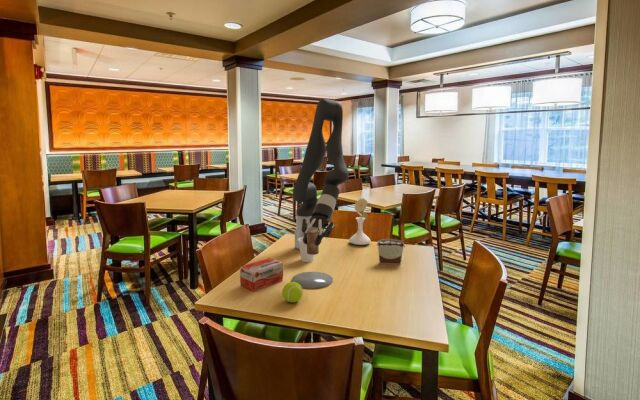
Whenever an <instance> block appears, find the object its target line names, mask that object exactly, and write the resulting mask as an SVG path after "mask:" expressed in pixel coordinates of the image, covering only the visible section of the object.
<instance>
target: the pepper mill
mask: <svg viewBox="0 0 640 400" xmlns="http://www.w3.org/2000/svg"><path fill="white" fill-rule="evenodd" d="M318 235H319V230H318V228H317V227H308V231H307V254H310V255H314V256H315V255H318V254H319V249H320V248H319V246H320V245H318V246H316V245H315V241H316V239H317V236H318Z"/></svg>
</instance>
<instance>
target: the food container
mask: <svg viewBox="0 0 640 400" xmlns="http://www.w3.org/2000/svg"><path fill="white" fill-rule="evenodd" d="M376 246H377V248H378V249H377V250H378V260H379V261H378V262H379V264H381V265H382V264H383V265H387V264H388V265H401V264H402V257H403V252H404V251H403V250H404V248H405V243H404V241H402V240H399V239H395V238H394V239H393V238H383V239H379V240H378V241H377V243H376Z"/></svg>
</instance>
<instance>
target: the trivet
mask: <svg viewBox="0 0 640 400" xmlns="http://www.w3.org/2000/svg"><path fill="white" fill-rule="evenodd" d="M291 278H292V279H291V282H297V283H298V284H300V285H301V287H302V289H309V290H311V289H313V290H314V289H315V290H316V289H324V288H326V287H328V286H329V287H330V285H331V284H333V277H332V275H330V274H328V273H327V272H326V273H325V272H321V271H304V272H300V273H296V274H295V275H293V276H292V277H291Z"/></svg>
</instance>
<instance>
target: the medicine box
mask: <svg viewBox="0 0 640 400" xmlns="http://www.w3.org/2000/svg"><path fill="white" fill-rule="evenodd" d="M239 278H240V279H239V281H240V282H239V283H240V287H244V288H245V289H248V290H249V291H251V292H256V291H259V290H261V289H264V288H268V287H270V286H272V285H275V284H278V283H281V282H283V279H284V264H283V261H280V260H277V259H275V258H272V257H268V258H263V259H261V260H258V261H254V262H251V263H247V264H245V265H241V266H240V268H239Z"/></svg>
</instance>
